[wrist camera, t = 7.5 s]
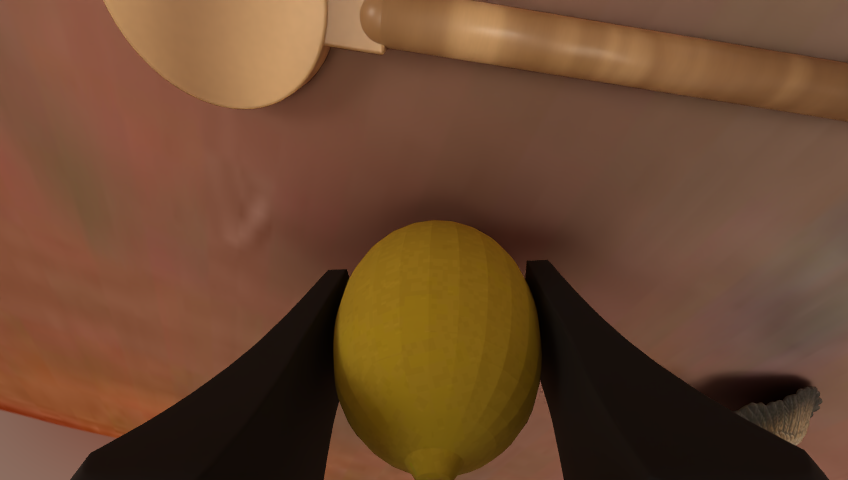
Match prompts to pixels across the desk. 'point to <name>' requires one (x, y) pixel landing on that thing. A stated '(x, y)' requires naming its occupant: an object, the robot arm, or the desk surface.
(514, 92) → the desk surface
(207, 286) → the desk surface
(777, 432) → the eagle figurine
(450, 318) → the lemon
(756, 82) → the spoon
